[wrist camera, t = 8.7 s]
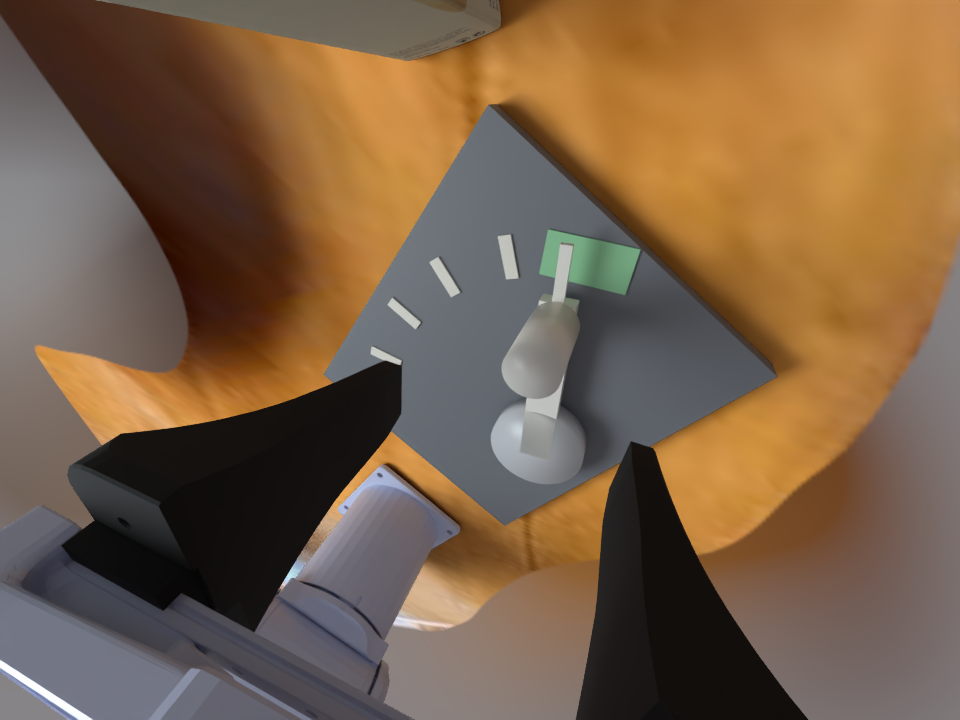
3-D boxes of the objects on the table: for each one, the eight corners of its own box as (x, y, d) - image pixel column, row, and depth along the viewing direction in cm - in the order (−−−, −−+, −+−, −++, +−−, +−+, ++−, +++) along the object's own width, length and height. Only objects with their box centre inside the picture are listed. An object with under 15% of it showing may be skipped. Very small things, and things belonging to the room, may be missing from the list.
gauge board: (508, 514, 30) (504, 526, 29) (333, 366, 28) (322, 375, 27) (772, 364, 18) (777, 378, 17) (496, 104, 17) (487, 104, 16)
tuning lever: (578, 479, 24) (559, 559, 20) (495, 454, 25) (461, 524, 21) (635, 245, 16) (625, 295, 12) (513, 228, 18) (467, 268, 14)
